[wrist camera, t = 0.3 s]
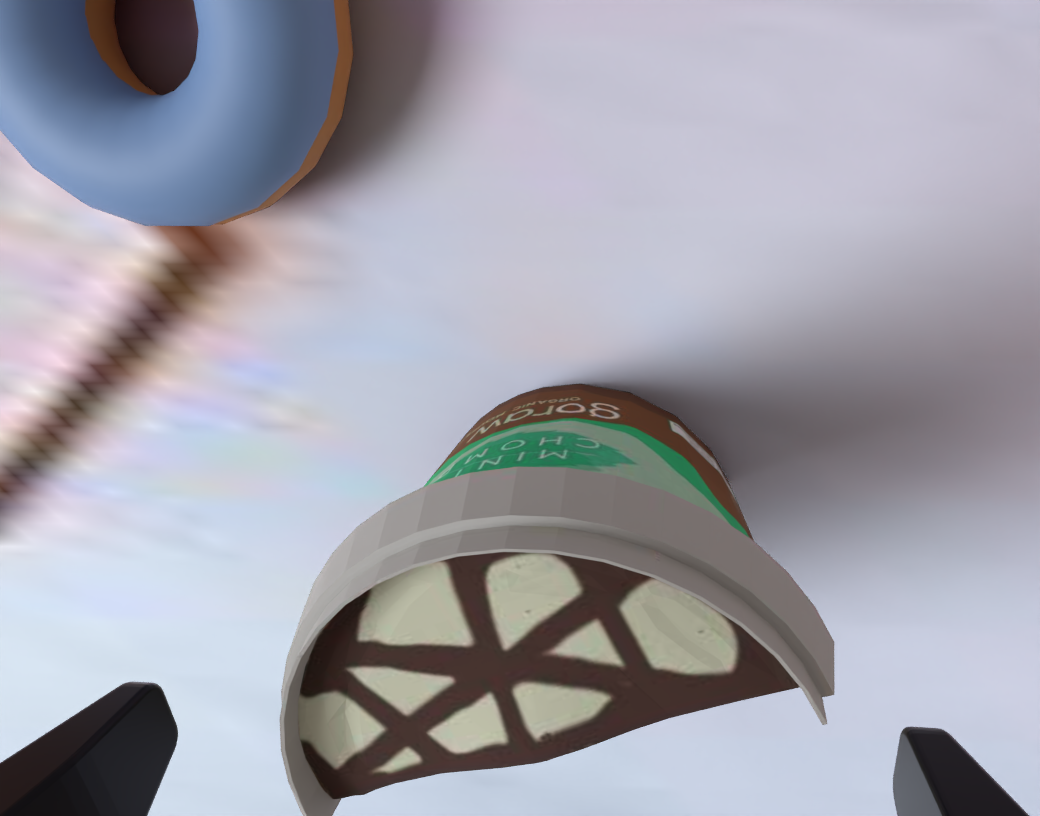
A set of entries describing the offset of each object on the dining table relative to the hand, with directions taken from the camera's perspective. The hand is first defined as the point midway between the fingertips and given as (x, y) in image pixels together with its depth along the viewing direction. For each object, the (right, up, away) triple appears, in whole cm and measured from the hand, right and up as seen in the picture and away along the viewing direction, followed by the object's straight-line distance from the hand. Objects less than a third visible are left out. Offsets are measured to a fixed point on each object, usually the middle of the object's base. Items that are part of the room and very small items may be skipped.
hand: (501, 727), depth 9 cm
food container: (+1, +3, +15) cm, 15 cm away
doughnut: (-9, +14, +12) cm, 20 cm away
